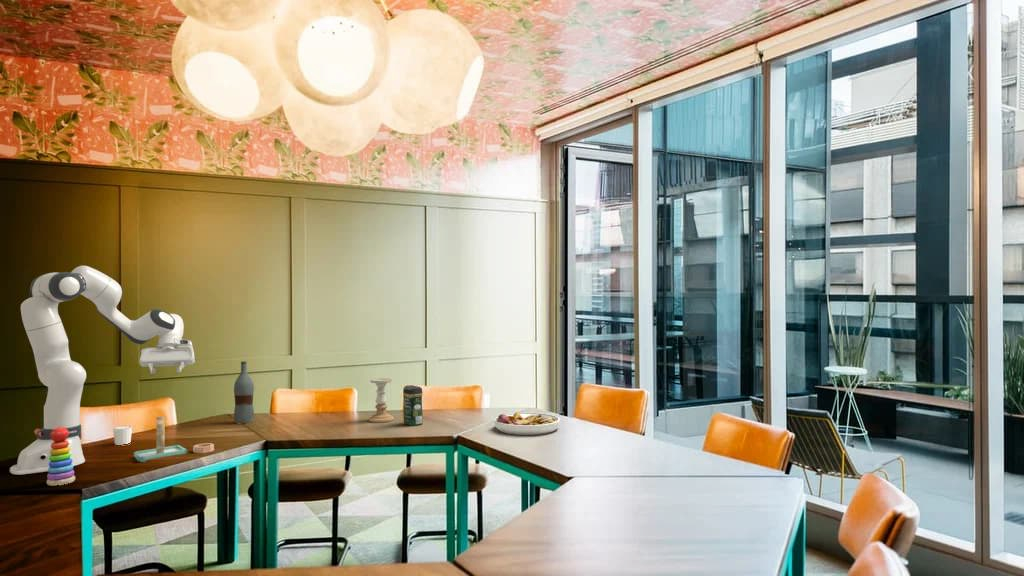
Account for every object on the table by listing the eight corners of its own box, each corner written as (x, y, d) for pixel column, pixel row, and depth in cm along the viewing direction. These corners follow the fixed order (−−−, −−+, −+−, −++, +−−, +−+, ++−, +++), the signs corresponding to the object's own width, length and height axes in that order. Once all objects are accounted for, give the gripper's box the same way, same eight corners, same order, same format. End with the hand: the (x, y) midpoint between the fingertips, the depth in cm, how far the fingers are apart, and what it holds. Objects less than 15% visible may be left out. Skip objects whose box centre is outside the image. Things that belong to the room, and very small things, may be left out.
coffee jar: (400, 423, 308) (400, 385, 309) (415, 421, 313) (415, 383, 313) (410, 426, 301) (410, 387, 301) (425, 424, 306) (425, 385, 306)
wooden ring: (196, 455, 249) (196, 448, 250) (191, 452, 255) (191, 445, 255) (215, 452, 254) (215, 445, 254) (210, 449, 259) (210, 442, 259)
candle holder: (363, 422, 313) (363, 380, 313) (376, 417, 325) (376, 377, 325) (386, 423, 309) (385, 381, 309) (398, 418, 321) (398, 378, 321)
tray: (140, 462, 240) (140, 456, 240) (133, 457, 248) (133, 451, 248) (186, 455, 251) (186, 449, 251) (178, 450, 259) (178, 444, 259)
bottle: (246, 424, 310) (246, 362, 310) (229, 424, 311) (229, 362, 312) (257, 420, 319) (257, 360, 319) (241, 420, 320) (240, 360, 321)
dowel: (157, 454, 247) (157, 418, 248) (155, 453, 250) (155, 417, 250) (165, 453, 249) (165, 417, 250) (163, 452, 251) (163, 416, 252)
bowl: (542, 421, 313) (542, 405, 313) (571, 433, 285) (571, 415, 285) (485, 426, 301) (485, 409, 301) (509, 439, 274) (509, 421, 274)
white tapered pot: (123, 446, 267) (123, 429, 267) (109, 445, 269) (109, 429, 269) (136, 442, 274) (135, 426, 274) (122, 441, 275) (122, 425, 275)
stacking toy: (76, 478, 220) (76, 423, 220) (73, 484, 213) (73, 428, 213) (48, 481, 216) (48, 426, 217) (44, 488, 209) (44, 430, 209)
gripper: (140, 342, 265) (135, 368, 256) (195, 340, 272) (192, 366, 263) (143, 352, 269) (138, 378, 260) (196, 350, 276) (193, 375, 267)
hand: (165, 372), depth 261 cm, fingers open, 8 cm apart
